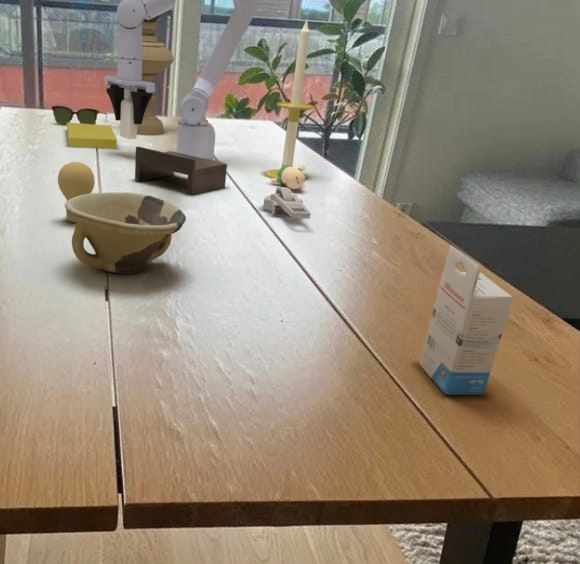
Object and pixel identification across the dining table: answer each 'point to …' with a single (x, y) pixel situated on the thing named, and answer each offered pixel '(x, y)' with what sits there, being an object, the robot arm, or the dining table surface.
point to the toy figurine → (290, 176)
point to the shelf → (180, 169)
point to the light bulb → (75, 181)
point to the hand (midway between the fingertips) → (128, 122)
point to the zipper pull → (285, 204)
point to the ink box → (464, 328)
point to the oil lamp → (152, 73)
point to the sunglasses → (83, 115)
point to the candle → (295, 102)
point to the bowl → (122, 229)
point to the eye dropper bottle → (127, 116)
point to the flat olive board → (90, 136)
